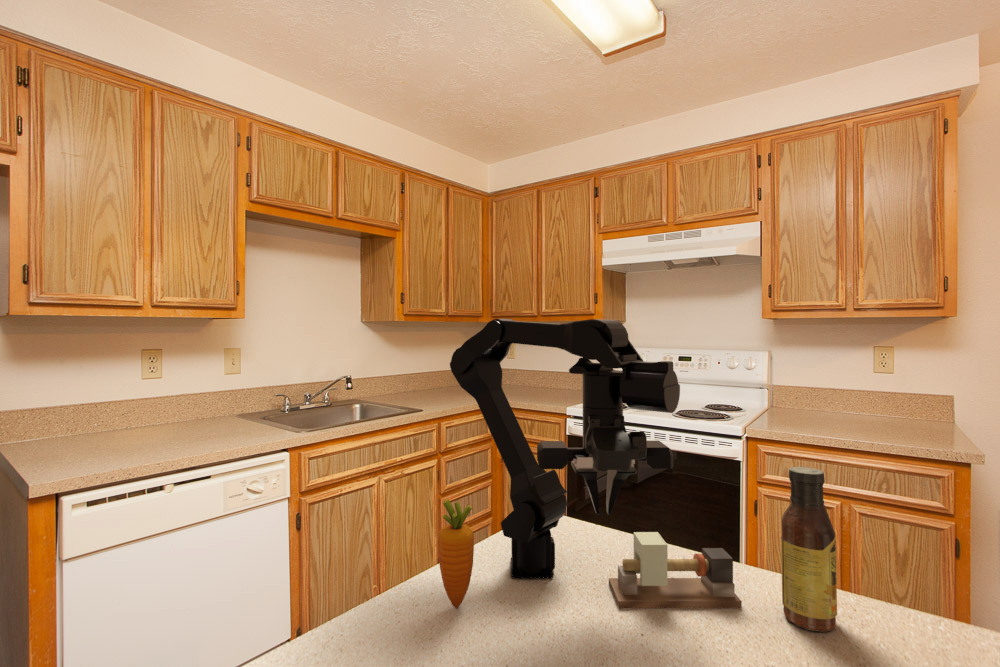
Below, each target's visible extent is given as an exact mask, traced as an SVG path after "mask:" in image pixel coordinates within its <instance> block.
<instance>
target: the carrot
mask: <svg viewBox="0 0 1000 667" xmlns="http://www.w3.org/2000/svg"><path fill="white" fill-rule="evenodd" d="M453 504H454V506H453V505H452V502H451V501H450V499H446V500H444V502H443V506H444V508H445V510H446V511H447V513H448V515H447V514H443V515H442V519H444V520H445V521H446V522H447V523H448V524H446V525H445V526H444V527H443V528H442V529H441V530H439V531H438V537H437V538H438V539H437V540H438V541H437V542H438V543H437V544H438V546H437V547H438V564H439V569H440V570H439V571H440V575H441V580H442V585H443V587H444V590H445V593H446V596H447V597H448V599H449V601H450V603H451V605H452V607H454V609H458V608H460V606H461V605H462V603H463V601H464V599H465V596H466V595H467V591H468V590H469V586H470V582H471V577H472V573H473V572H472V571H473V566H474V553H475V552H474V551H475V550H474V548H475V534H474V531H473V530H472V529H471V528H470V527H469V526H468V525H467V524H465V521H466V519H467V517H468V515H469V513H470V512H471V511H472V508H473V507H472V506H471V505H466V506H465V507H464V509H463V510H462V506H461V503H460V502H454V503H453ZM454 507H455V509H454Z"/></svg>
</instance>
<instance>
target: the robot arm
mask: <svg viewBox="0 0 1000 667" xmlns="http://www.w3.org/2000/svg"><path fill="white" fill-rule="evenodd" d="M512 344H517V345H524V346H525V345H526V346H538V347H546V348H556V349H560V350H563V351H566V352H567V353H569V354H571V355H574V356H578V357H579V358H578V360H577V362H576V363H575V364H574V365H572V366H571V367H570V368H569V369H568V373H570V374H573V375H574V374H575V375H582V447H567V446H566V443H565V441H564V440H541V441H539V443H538V444H537V445H536V446H537V447H536V457H535V455H534V453H533V451H532V448H531V446H530V444H529V443H528V440H527V439H526V437H525V434H524V432H523V430H522V427H521V425H520V423H519V421H518V418H517V417H516V415H515V413H514V411H513V409H512V407H511V404H510V403H509V400H508V398H507V395H506V394H505V392H504V389H503V368H502V366H501V363H502V361H503V360H504V359H505V358H506V357H507V356H508V354H509V351H510V349H511V347H512ZM595 360H596V361H597V362H593V361H595ZM449 368H450V371H451V374H452V375H453V377H454V379H455V380H456V382H457V384H458V385H459V386H460V388H461V389H463V390H464V391H465V392H466V393H468V395H469V396H471V397H473V399H474V400H475V401H476V404H477V406H478V408H479V410H480V413H481V415H482V417H483V419H484V421H485V423H486V425H487V428H488V430H489V433H490V435H491V437H492V439H493V441H494V442H493V443H494V445H495V446H496V448H497V450H498V452H499V454H500V457H501V459H502V462H503V464H504V466H505V468H506V471H507V473H508V475H509V478H510V489H509V490H510V491H509V499H510V502H511V505H512V511H511V512H510V513H509V514H508V515H507V516H506V517H505V518H504V519H502V520H501V522H500V527H501V530H502V533H503V534H502V535H503V536H504V537H506V538H508V539H510V540H511V557H510V578H512V579H519V580H520V579H523V580H524V579H525V580H526V579H553V578H554V573H553V570H555V569H556V553H555V552H556V544H555V540H554V539H555V538H554V537H553V536H552V532H551V529H554V528H556V527H558V525H559V521H560V519H561V518H563V517H564V515H565V514H566V511H567V507H568V500H567V497H566V494H567V493H568V491H567V489H565V488H564V487H563V485H562V483H561V480H560V478H559V474H558V473H557V471H556V470H564V468H565V467H566V466H567V465H568V464H569V462H570V464H571V467H572V469H573V471H574V473H575V474H576V475H579V476H581V475H582V478H583V479H584V482H585V485H586V487H587V491H588V493H589V496H590V499H591V503H592V505H593V509H594V512H595V513H596V515H600V512H601V510H600V504H601V503H600V497H599V496H600V494H599V488H598V471H600V472H607V476H606V492H605V494H606V495H605V496H606V498H605V506H606V513H607V515H609V516H610V515H612V513H613V509H614V507H615V504H616V501H617V498H618V495H619V494H620V493H619V492H620V490H621V488H622V487H623V484H624V482H625V480H627V478H628V477H629V476H630V475H636V474H637V473H638V470H637V469H636V468H635V464H636V462H637V461H639V462H640V461H641V462H643V461H645V463H646V465H648V466H649V467H650V468H651V469H653V470H660V469H661V470H663V469H664V470H665V469H666V470H669V469H671V470H672V469H673V468H674V453H673V451H672V449H671V448H669V447H668V446H667V445H666V444H664V442H662V441H660V440H647V435H646V433H645V431H630V432H627V429H626V425H625V424H626V422H625V416H624V404H626V406H627V407H628V408H629V409H630V410H637V411H638V410H639V411H648V412H649V411H650V412H659V413H666V414H667V413H669V414H673V413H674V412H675V411H676V410H677V408H678V406H679V402H680V395H681V385H680V384H679V379H678V376H677V374H676V371H675V370H674V362H673V361H672V360H663V361H662V360H661V361H644V359H643V357H642V356H641V355H640V354H639V353H638V351H637V350H636V348H635V347H634V345H633V343H632V342H631V341H630V339H629V333H628V330H627V328H626V327H625V326H624V325H623V323H622V322H620V321H619V320H617V319H607V318H606V319H605V318H604V319H600V318H599V319H597V318H593V319H592V318H591V319H585V320H575V321H571V322H567V323H553V322H552V323H551V322H539V321H537V322H535V321H523V320H522V321H520V320H514V319H512V318H493V319H492V320H490V321H488V322H487V323H486V324H485V325H484V327H483V328H482V329H481V330H480V331H478V332H477V333H475V334H474V335H473V336H471V337H470V338H468V339H467V340H466V341H464V342H463V343H462V345H461V346H460V347H458V348H456V349H455V351H453V353H452V355H451V360H450V362H449ZM616 369H621V370H616ZM547 470H548V471H547Z"/></svg>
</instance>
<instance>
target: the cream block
mask: <svg viewBox="0 0 1000 667" xmlns="http://www.w3.org/2000/svg"><path fill="white" fill-rule="evenodd" d="M633 559H640V571H635V573H636V575H639V578H640V583H641V585H642V586H667V578H668V571H667V559H668V543H667V542H666V541H665V540H664V538H663V537H662V535H661V534H660V533H659V532H658V531H636V532H635V531H634V532H633Z"/></svg>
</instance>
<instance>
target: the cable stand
mask: <svg viewBox="0 0 1000 667" xmlns="http://www.w3.org/2000/svg"><path fill="white" fill-rule="evenodd" d="M635 571H640V559H634V558H623V559H622V565H617V578H616V577H610V578H608V587H609V588H610V591H611V594H612V595H613V597H614V598H613V599H614V601H615V603H616V606H617V608H618V609H742V606H743V605H742V602H743V601H742V600H741V599H740V597H739V596H738V595H737V594H736V593H735V591H736V590H735V589H736V588H735V583H734V558H733V557H732V556H731V555H730V554H729V553H728V552H727V551H726V550H725V549H724V548H723V547H707V548H706V547H702V548H701V553H694V554H693V556H692V558H667V572H695V574H696V576H697V577H676V578H675V577H667V586H642V585H641V583H640V577H638V574H636V573H635Z"/></svg>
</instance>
